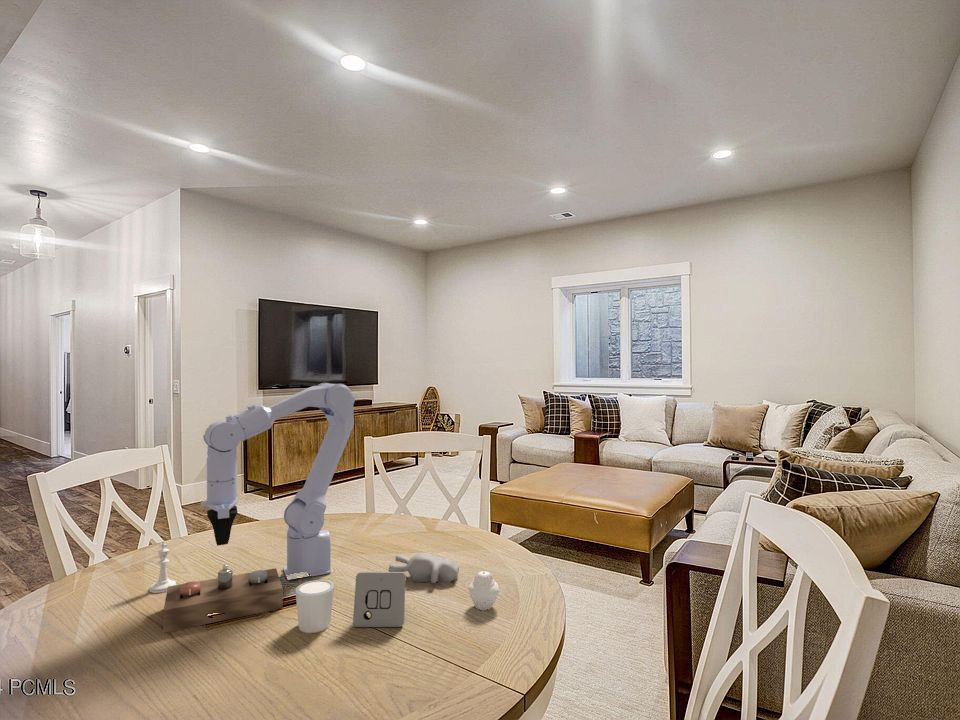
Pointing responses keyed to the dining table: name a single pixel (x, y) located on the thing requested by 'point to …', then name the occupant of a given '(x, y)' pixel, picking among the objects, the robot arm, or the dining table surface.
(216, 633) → the dining table surface
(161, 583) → the chess piece
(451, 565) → the bunny figurine
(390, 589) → the electrical switch
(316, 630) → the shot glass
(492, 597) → the white owl figurine
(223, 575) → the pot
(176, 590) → the mount
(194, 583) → the knob red
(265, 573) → the knob grey
